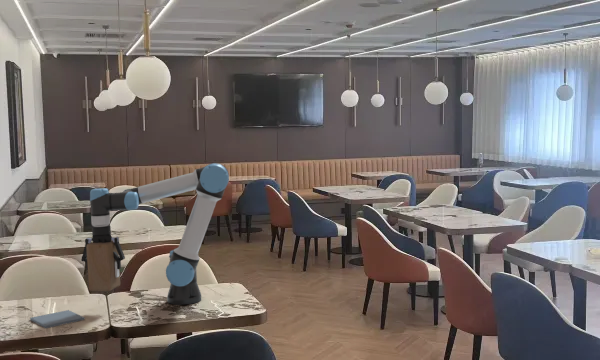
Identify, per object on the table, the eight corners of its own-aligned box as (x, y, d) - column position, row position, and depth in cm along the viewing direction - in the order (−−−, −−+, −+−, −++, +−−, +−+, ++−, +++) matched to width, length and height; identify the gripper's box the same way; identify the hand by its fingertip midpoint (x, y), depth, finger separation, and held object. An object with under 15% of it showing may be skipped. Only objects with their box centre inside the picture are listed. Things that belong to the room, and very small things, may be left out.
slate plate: (68, 312, 282) (68, 310, 282) (84, 319, 271) (84, 317, 271) (30, 320, 272) (30, 317, 272) (45, 328, 260) (45, 325, 260)
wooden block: (110, 291, 275) (107, 244, 273) (88, 291, 277) (85, 244, 275) (121, 286, 284) (118, 239, 283) (100, 285, 286) (97, 240, 285)
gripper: (130, 223, 282) (133, 274, 283) (77, 224, 283) (80, 275, 285) (125, 225, 274) (128, 278, 276) (70, 227, 275) (74, 279, 277)
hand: (104, 277), depth 280 cm, fingers closed on wooden block, 10 cm apart
